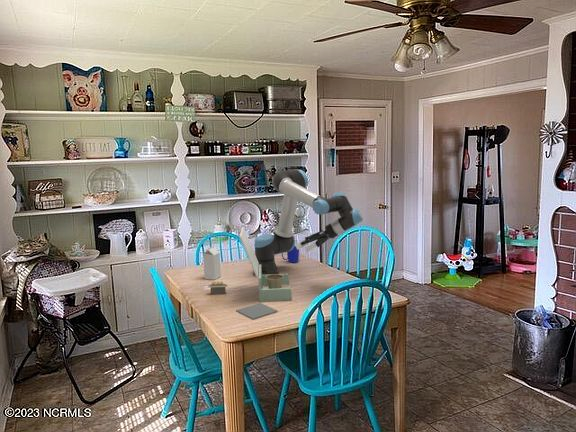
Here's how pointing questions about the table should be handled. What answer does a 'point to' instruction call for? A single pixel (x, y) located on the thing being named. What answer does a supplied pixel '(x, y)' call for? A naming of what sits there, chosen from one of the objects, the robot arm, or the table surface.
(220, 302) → the table surface
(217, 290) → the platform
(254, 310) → the mat
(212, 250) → the milk carton
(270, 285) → the flower pot
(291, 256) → the mug
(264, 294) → the cold frame
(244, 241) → the frame lid
